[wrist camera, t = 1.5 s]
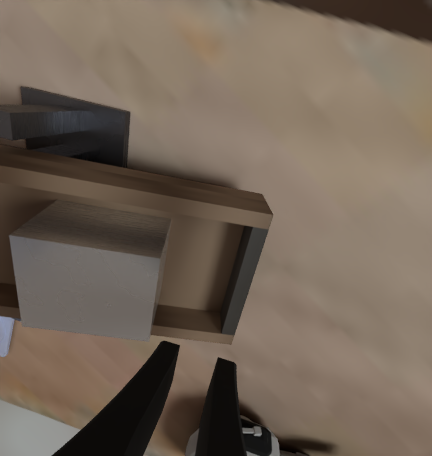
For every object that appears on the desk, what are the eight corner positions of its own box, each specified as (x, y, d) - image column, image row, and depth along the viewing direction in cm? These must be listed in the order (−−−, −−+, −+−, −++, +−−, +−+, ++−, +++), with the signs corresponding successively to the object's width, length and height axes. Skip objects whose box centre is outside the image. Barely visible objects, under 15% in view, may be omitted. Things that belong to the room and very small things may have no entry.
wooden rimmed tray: (-186, 253, 17) (-260, 284, 14) (-268, 93, 13) (-391, 94, 10) (227, 310, 20) (231, 344, 17) (262, 194, 16) (273, 215, 13)
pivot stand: (43, 265, 24) (-24, 312, 18) (28, 87, 18) (-79, 79, 12) (119, 288, 23) (72, 343, 18) (130, 111, 17) (65, 114, 12)
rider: (74, 264, 18) (6, 321, 13) (72, 192, 16) (-10, 229, 11) (173, 293, 17) (138, 362, 13) (185, 223, 15) (148, 274, 11)
